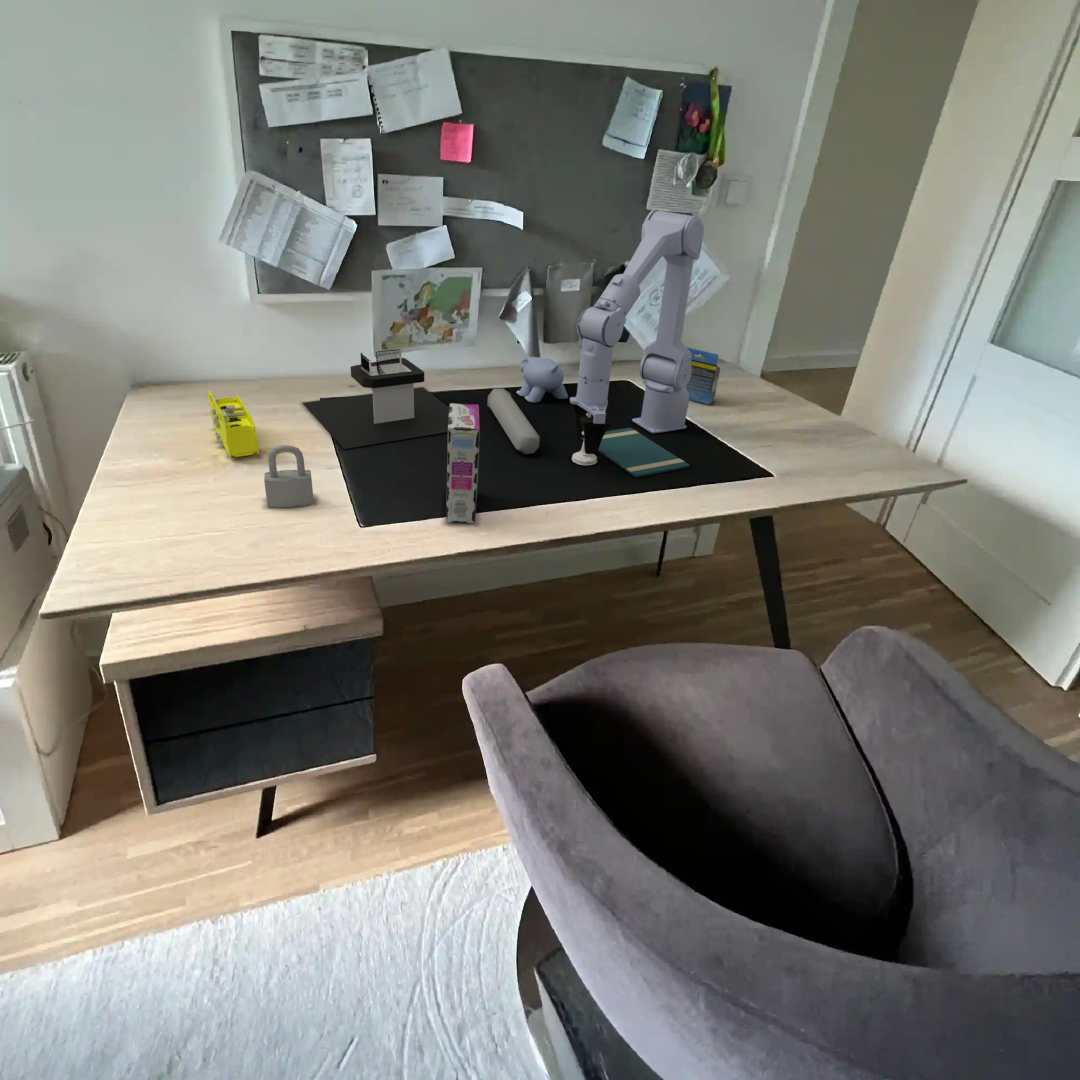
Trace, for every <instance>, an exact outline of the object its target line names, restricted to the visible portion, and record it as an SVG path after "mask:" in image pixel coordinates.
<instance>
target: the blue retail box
mask: <svg viewBox="0 0 1080 1080" xmlns="http://www.w3.org/2000/svg"><path fill="white" fill-rule="evenodd" d="M686 347H687V346H686ZM687 349H688V350H689V351H690V352H691V353H692V356H691V357H692V358H691V367H692V373H691V377H690V380H689V382H688V384H687V385H686V386H685V387H686V389H687V391H688V394H689V401H693V402H697V403H700V404H704V405H708V406H709V405H711V404H713V402H714V401H715V398H716V392H717V388H718V382H719V378H720V373H721V367H719V365H717V364H718V359H719V354H717V353H714V352H709V351H705V350H700V349H696V348H691V347H687ZM695 355H697V356H695ZM699 355H701V356H702V357H705V358H702V357H698V356H699Z"/></svg>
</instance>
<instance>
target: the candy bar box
mask: <svg viewBox="0 0 1080 1080" xmlns="http://www.w3.org/2000/svg"><path fill="white" fill-rule="evenodd" d="M480 435H481V434H480V407H479V404H474V403H449V419H448V432H447V456H446V457H447V461H446V466H447V467H446V502H445V503H446V508H445V509H446V511H445V514H446V515H445V523H447V524H461V525H475V524H476V516H477V515H476V514H477V499H478V482H479V481H478V480H479V462H480V461H479V459H480Z"/></svg>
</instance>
